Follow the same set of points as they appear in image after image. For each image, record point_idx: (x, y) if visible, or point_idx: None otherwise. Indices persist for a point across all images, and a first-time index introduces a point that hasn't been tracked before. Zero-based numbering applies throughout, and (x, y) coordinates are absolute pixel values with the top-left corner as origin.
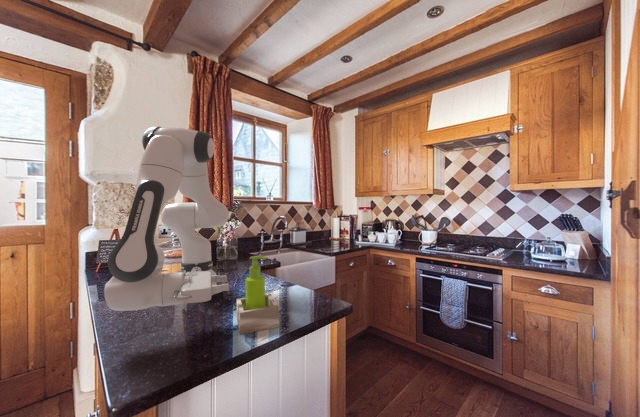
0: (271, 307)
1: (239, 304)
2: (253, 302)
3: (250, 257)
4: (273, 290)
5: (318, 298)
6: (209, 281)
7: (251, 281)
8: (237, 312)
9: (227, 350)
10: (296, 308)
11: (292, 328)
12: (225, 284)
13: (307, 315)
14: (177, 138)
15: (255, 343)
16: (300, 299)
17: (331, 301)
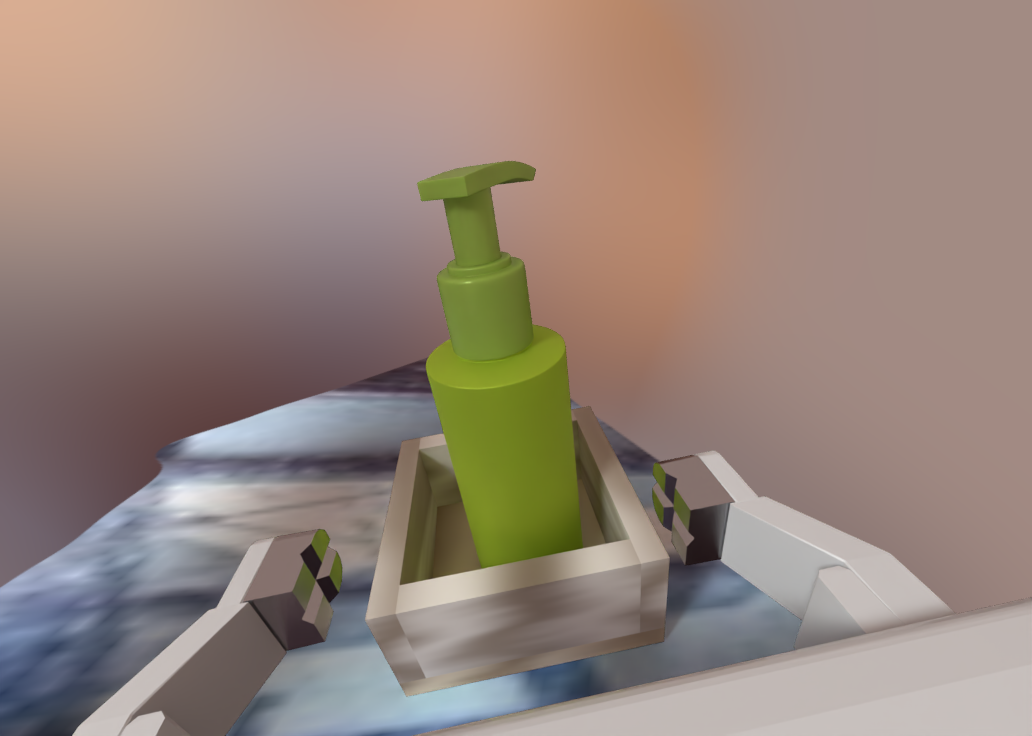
0: (595, 426)
1: (502, 580)
2: (575, 472)
3: (471, 176)
4: (153, 507)
5: (390, 384)
6: (791, 684)
7: (562, 360)
8: (471, 644)
9: None
10: (439, 431)
11: (611, 441)
12: (726, 468)
13: None
14: None
15: None
16: (361, 421)
17: None
